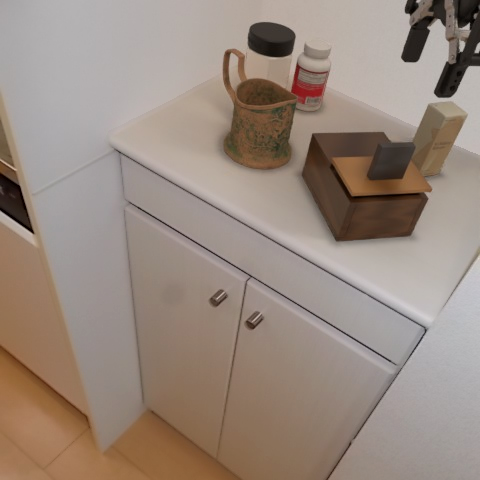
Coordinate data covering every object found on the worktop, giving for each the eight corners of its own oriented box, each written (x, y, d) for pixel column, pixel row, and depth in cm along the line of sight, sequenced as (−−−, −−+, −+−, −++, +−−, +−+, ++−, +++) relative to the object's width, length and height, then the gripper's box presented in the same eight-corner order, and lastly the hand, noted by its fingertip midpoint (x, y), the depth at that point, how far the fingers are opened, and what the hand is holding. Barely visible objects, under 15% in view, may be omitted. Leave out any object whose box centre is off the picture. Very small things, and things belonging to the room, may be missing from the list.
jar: (240, 84, 101) (249, 17, 92) (282, 90, 102) (295, 24, 93) (239, 107, 95) (248, 38, 86) (283, 113, 96) (296, 46, 87)
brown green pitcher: (246, 108, 96) (256, 39, 87) (305, 159, 87) (323, 89, 78) (192, 119, 91) (196, 48, 82) (248, 175, 82) (260, 102, 73)
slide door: (405, 158, 77) (420, 123, 72) (431, 192, 72) (448, 156, 68) (330, 161, 74) (341, 124, 69) (351, 196, 69) (364, 159, 65)
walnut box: (368, 172, 87) (383, 131, 82) (410, 235, 78) (430, 195, 72) (301, 174, 84) (312, 132, 79) (336, 241, 75) (351, 199, 69)
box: (416, 178, 88) (443, 116, 79) (401, 164, 90) (426, 102, 82) (440, 174, 90) (469, 113, 81) (425, 160, 92) (452, 99, 84)
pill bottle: (299, 92, 102) (312, 32, 94) (326, 104, 100) (342, 44, 92) (282, 103, 98) (294, 42, 90) (310, 116, 97) (325, 55, 88)
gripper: (573, -67, 45) (483, 109, 58) (487, -111, 54) (425, 51, 66) (501, -74, 44) (424, 110, 56) (423, -118, 52) (371, 49, 64)
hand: (424, 77), depth 61 cm, fingers open, 8 cm apart
